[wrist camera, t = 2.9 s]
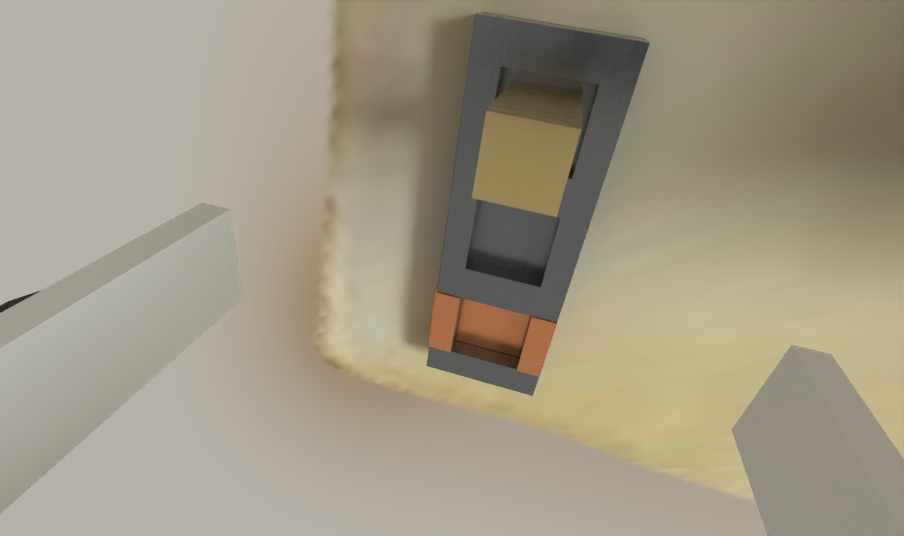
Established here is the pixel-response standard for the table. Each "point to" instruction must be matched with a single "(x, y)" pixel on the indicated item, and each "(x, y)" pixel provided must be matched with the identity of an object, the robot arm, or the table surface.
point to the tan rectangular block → (529, 146)
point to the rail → (516, 230)
